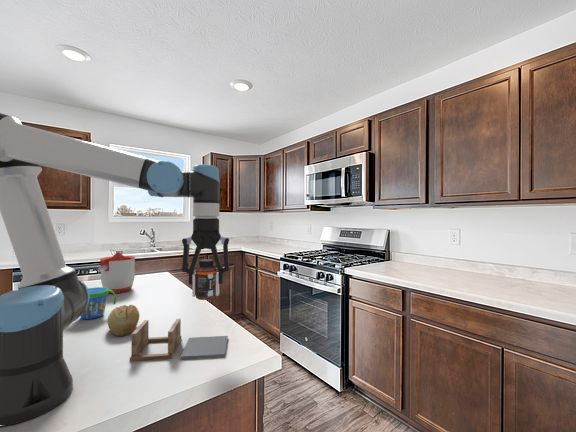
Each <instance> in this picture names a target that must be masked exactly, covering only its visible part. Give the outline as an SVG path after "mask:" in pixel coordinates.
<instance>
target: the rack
mask: <svg viewBox="0 0 576 432" xmlns="http://www.w3.org/2000/svg"><path fill="white" fill-rule="evenodd" d="M181 319H182V318H176V319H175V320H174V322H173V324H172V325H171V327H170V329H169V330H168V331H167V336H154V337H149V319H148V320H147V319H144V320H143V321H142V322H141V323H140V324H139V325H137V326H138V327H136V329H134V330H133V331H132V332H131V333H130V334H131V338H130V339H131V343H130V345H131V351H130V352H131V354H130V356H129V362H139V361H140V362H141V361H155V360H158V361H159V360H170V359H171V360H172V358H173V356H174V354H175V352H176V351H177V348H178V346H179V344H180V343H181V341H182V335H181V332H182V331H181V330H182V329H181V328H182V327H181V325H182V324H181V322H182V321H181ZM163 342H164V343H165V342H167V353H150V354H141V353H142V351H143V350H144V349H145V348H146V347H147V345H148V344H149V343H163Z"/></svg>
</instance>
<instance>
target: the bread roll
mask: <svg viewBox="0 0 576 432" xmlns="http://www.w3.org/2000/svg"><path fill="white" fill-rule="evenodd" d="M139 311H140V310H139V308H138V307H137V306H135V305H134V304H129V305H126V304H124V305H120V306H117V307H115V308H114V309H112V310H111V311H110V313H109V315H108V316H107V326H108V330H110V332H111V333H112V334H113V335H115V336H118V337H123V336H126V335H129V334H131V333H133V332H134V331H135V328H137V326H138V323H139V320H140V312H139Z"/></svg>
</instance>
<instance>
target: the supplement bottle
mask: <svg viewBox="0 0 576 432" xmlns="http://www.w3.org/2000/svg"><path fill="white" fill-rule="evenodd" d="M198 263H199V266H198V267H196V268H195V273H196V296H195V298H196V299H197V300H200V301H201V300H202V301H206V300H207V301H209V300H213V299H215V298H216V297H217V296H216V273H217V267H216V266H214V259H210V258H205V259H200V260H198Z"/></svg>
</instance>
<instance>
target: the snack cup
mask: <svg viewBox="0 0 576 432" xmlns="http://www.w3.org/2000/svg"><path fill="white" fill-rule="evenodd" d="M87 288H88V287H87ZM88 290H89V302H88V305H87V307H86V308H85V310H84V312H83V313H82V315H81V316H80V319H83V320H91V319H92V320H93V319H96V318H101V317H102V316H104V314H105V311H106V306H107V305H106V304H107V300H108V296H109V294H110V293H109V292H112V293H111V294H113V295H114V296H113V297H114V298H113V305H116V304H117V295H116V294H115V293H114V292H113V291H112V290H109V289H108V288H104V287H103V286H100V287H99V286H97V287H89V288H88Z"/></svg>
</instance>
